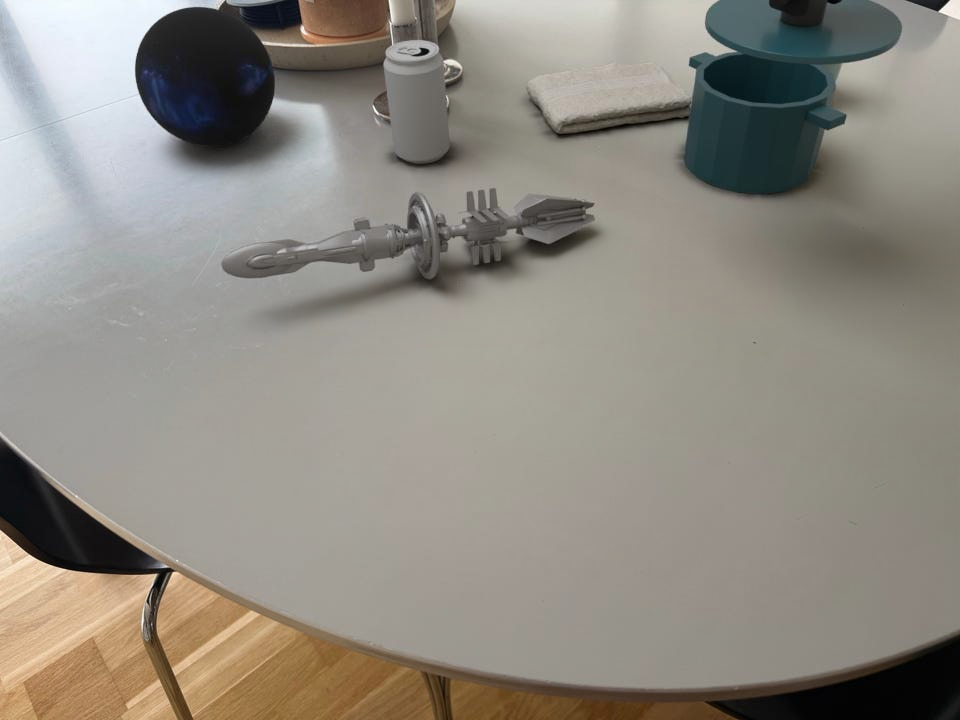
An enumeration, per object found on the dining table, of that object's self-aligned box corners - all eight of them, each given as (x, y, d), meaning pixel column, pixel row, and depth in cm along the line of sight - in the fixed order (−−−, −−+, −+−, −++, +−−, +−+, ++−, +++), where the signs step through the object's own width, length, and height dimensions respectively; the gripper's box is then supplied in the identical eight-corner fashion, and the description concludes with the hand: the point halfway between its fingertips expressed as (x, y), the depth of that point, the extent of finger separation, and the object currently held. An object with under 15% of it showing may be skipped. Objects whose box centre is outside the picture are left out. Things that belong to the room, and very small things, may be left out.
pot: (729, 112, 98) (743, 33, 92) (861, 178, 86) (888, 91, 79) (642, 145, 93) (650, 63, 86) (769, 219, 81) (790, 131, 74)
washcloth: (697, 117, 97) (701, 92, 95) (554, 140, 95) (554, 115, 92) (657, 77, 106) (659, 54, 104) (524, 98, 103) (524, 74, 101)
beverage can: (437, 170, 90) (428, 64, 82) (385, 162, 92) (371, 57, 84) (458, 144, 95) (452, 40, 87) (408, 136, 97) (397, 35, 89)
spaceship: (209, 213, 71) (215, 226, 64) (571, 165, 82) (611, 172, 74) (226, 301, 73) (234, 323, 66) (575, 244, 84) (613, 257, 77)
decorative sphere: (143, 173, 93) (96, 41, 82) (176, 113, 104) (138, -10, 94) (276, 167, 92) (244, 33, 82) (294, 107, 104) (269, -16, 93)
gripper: (830, -283, 45) (767, 47, 58) (1006, -309, 51) (914, -7, 64) (730, -289, 50) (691, 17, 62) (902, -313, 56) (835, -30, 69)
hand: (805, 2), depth 63 cm, fingers closed on lid, 3 cm apart
